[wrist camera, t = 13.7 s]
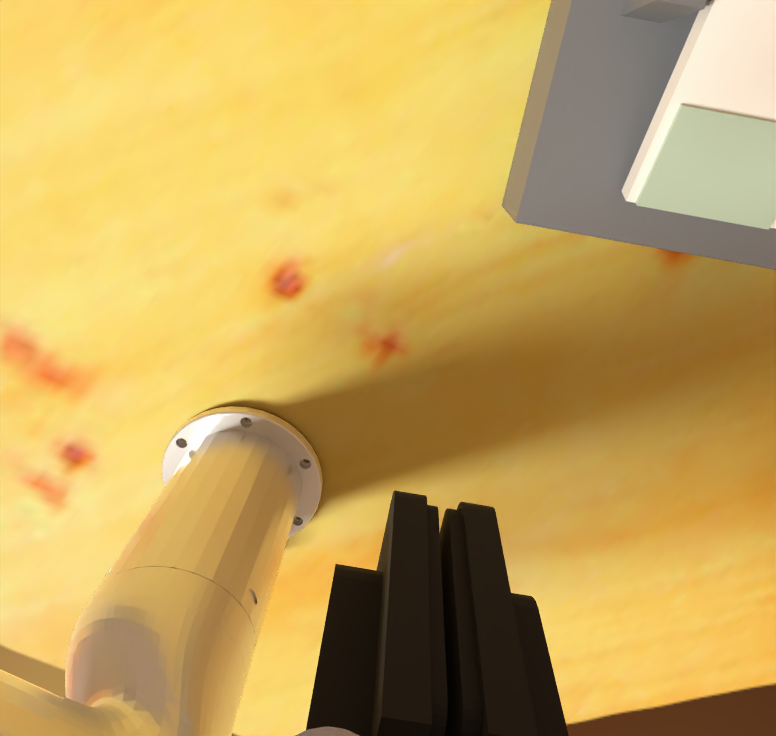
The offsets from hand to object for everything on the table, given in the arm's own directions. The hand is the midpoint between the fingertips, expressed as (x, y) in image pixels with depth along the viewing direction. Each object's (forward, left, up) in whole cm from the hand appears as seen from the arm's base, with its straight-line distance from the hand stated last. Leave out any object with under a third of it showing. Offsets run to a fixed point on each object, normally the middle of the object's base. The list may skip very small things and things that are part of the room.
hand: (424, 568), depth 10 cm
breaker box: (+14, -18, -32) cm, 40 cm away
